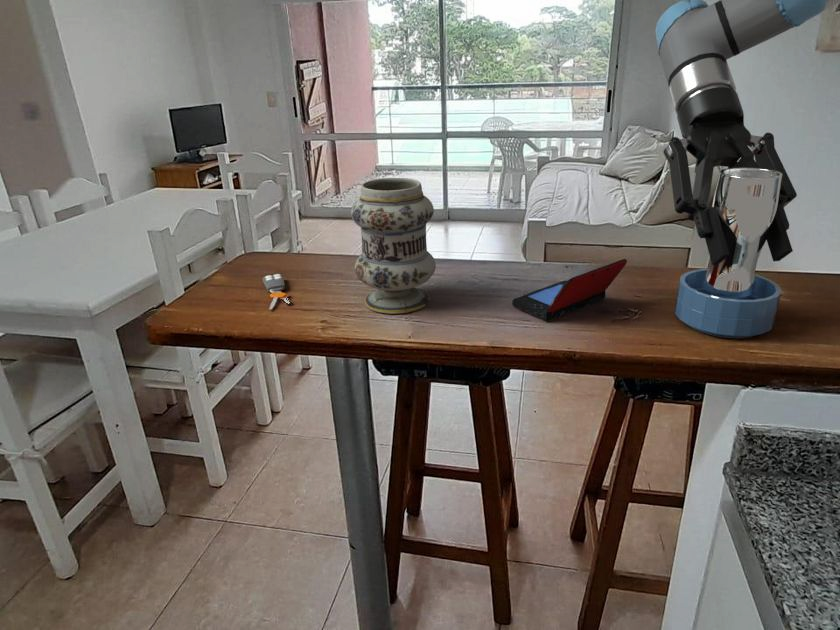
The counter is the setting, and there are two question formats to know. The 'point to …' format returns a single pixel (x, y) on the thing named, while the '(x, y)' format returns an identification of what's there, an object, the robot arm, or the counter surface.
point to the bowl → (727, 307)
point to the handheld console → (569, 293)
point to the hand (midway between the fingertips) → (751, 257)
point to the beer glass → (742, 227)
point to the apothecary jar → (394, 244)
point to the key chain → (275, 288)
